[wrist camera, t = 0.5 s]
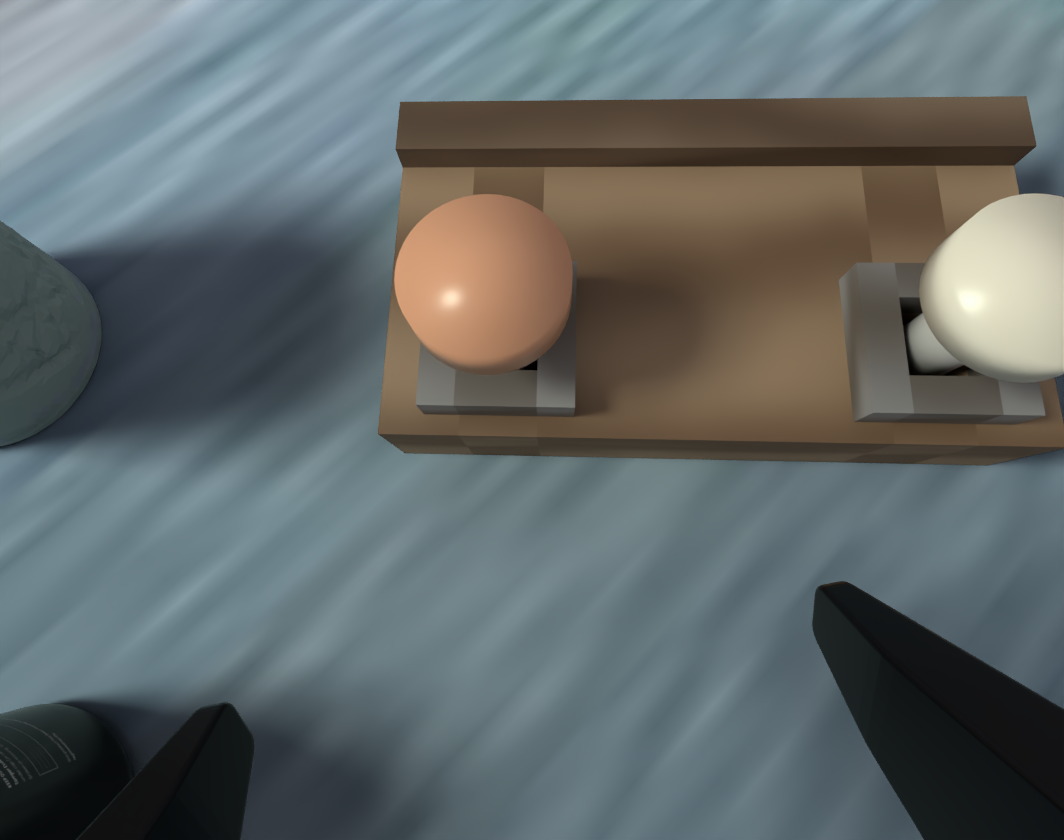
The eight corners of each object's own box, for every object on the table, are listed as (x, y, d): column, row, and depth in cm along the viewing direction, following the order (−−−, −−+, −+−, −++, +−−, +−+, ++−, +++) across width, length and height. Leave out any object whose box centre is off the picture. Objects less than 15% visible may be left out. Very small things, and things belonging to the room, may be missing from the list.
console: (987, 465, 22) (1103, 439, 17) (405, 452, 23) (366, 425, 18) (942, 179, 24) (1031, 91, 20) (426, 180, 26) (398, 97, 21)
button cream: (1009, 358, 20) (1191, 276, 14) (923, 450, 19) (1077, 404, 13) (899, 270, 21) (1028, 161, 15) (813, 355, 20) (914, 275, 14)
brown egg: (595, 353, 20) (610, 273, 15) (499, 442, 20) (476, 394, 14) (506, 268, 21) (489, 163, 16) (412, 350, 21) (358, 272, 15)
